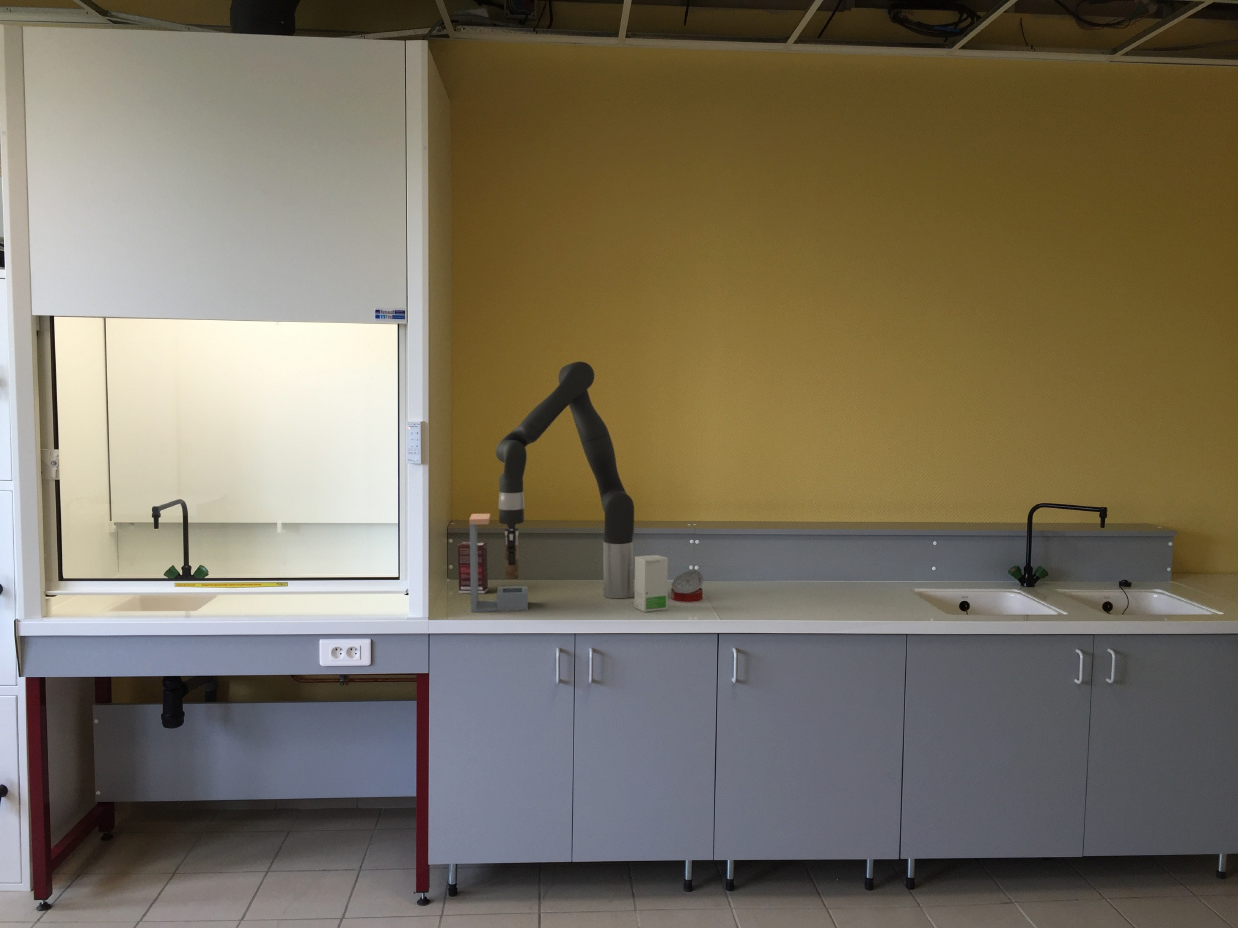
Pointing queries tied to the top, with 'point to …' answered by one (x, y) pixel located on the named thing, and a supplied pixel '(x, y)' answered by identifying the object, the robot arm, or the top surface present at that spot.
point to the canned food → (687, 587)
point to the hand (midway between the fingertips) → (512, 563)
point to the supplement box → (465, 567)
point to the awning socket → (505, 595)
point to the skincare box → (651, 583)
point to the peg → (511, 571)
